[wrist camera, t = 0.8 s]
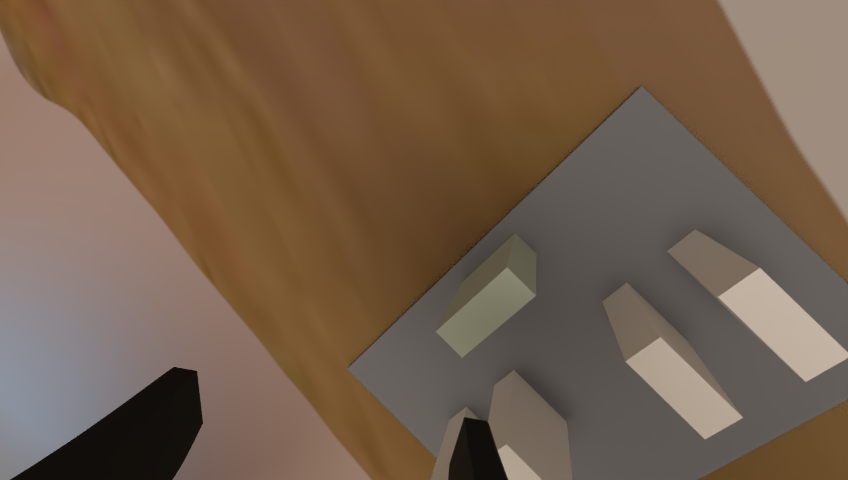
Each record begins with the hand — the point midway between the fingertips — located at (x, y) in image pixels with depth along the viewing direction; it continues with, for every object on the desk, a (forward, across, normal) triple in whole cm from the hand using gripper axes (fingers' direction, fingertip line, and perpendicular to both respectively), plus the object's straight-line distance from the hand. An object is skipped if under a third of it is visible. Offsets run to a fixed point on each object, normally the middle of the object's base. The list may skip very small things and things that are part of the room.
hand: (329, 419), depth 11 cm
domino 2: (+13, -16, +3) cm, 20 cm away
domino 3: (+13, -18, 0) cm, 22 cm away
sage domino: (+15, -7, +3) cm, 17 cm away
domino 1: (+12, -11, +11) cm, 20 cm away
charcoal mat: (+13, -13, +7) cm, 20 cm away
